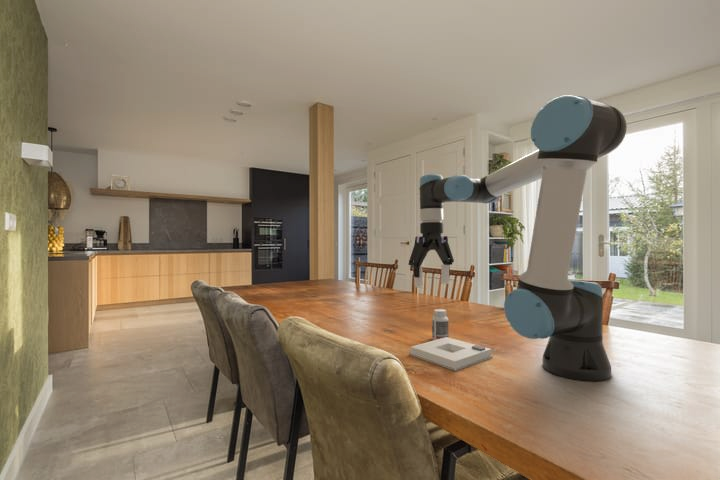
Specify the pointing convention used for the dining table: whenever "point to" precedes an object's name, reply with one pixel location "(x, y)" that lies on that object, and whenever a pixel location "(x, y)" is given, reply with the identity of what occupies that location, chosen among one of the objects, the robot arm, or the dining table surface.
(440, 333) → the pill bottle
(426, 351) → the socket plate
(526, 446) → the dining table surface
